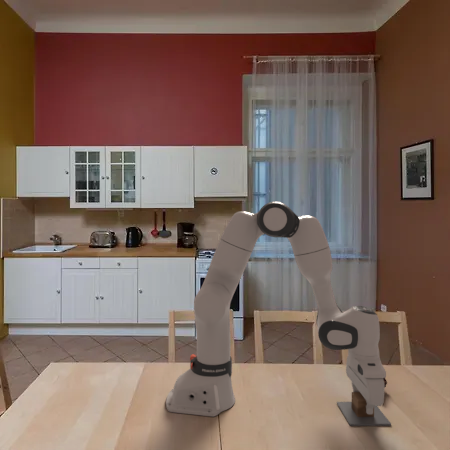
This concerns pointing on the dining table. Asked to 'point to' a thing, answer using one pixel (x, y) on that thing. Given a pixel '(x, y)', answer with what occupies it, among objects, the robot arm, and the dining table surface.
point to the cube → (359, 405)
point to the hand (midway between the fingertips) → (362, 404)
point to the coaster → (353, 420)
